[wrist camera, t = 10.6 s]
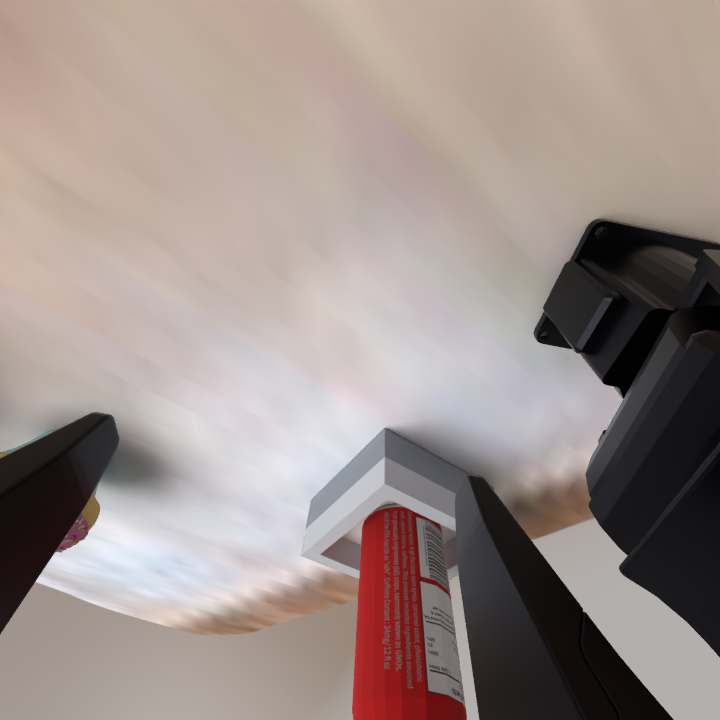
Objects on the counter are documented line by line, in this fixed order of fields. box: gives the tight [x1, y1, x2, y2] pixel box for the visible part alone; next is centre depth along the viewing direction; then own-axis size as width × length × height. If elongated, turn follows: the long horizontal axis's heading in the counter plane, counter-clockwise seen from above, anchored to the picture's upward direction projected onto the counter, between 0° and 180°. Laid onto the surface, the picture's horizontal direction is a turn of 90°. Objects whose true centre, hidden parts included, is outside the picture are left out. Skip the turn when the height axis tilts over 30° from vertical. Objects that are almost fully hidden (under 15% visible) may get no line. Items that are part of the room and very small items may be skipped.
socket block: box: [301, 428, 494, 580], centre depth 27 cm, size 10×10×4 cm
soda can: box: [352, 504, 467, 720], centre depth 22 cm, size 6×6×12 cm
